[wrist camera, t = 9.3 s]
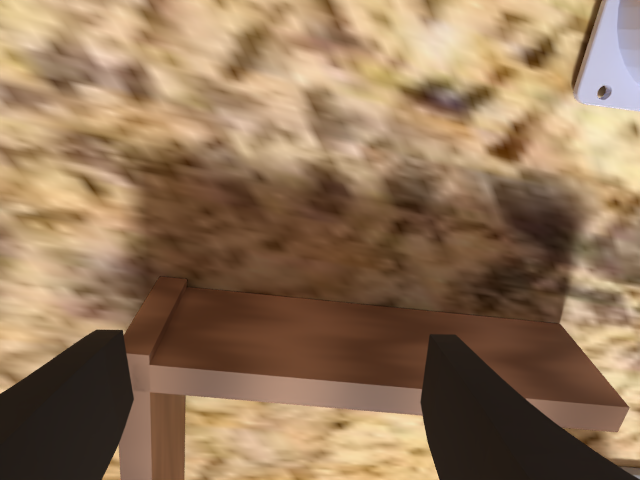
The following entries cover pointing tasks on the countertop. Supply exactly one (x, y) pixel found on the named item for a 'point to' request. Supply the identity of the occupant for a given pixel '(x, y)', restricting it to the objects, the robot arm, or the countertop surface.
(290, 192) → the countertop surface
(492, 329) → the walnut screen
